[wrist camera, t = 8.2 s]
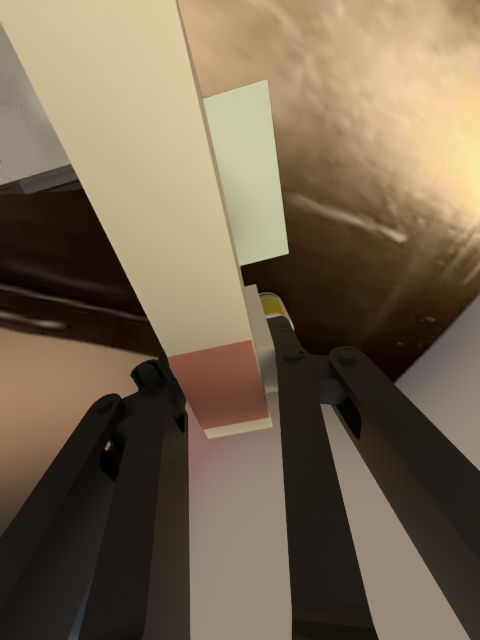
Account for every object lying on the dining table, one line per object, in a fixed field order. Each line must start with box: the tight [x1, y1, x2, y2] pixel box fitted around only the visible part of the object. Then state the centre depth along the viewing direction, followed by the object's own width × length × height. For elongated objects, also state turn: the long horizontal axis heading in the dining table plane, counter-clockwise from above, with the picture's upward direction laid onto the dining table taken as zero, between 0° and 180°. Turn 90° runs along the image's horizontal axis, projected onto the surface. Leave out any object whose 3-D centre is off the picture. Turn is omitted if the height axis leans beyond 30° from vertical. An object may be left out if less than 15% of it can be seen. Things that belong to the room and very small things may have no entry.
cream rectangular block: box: [0, 0, 273, 439], centre depth 10 cm, size 13×3×8 cm, turn 12°
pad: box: [203, 79, 289, 266], centre depth 27 cm, size 17×8×1 cm, turn 13°
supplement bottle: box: [259, 292, 294, 330], centre depth 31 cm, size 5×5×10 cm
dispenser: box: [0, 22, 83, 195], centre depth 17 cm, size 12×12×13 cm
